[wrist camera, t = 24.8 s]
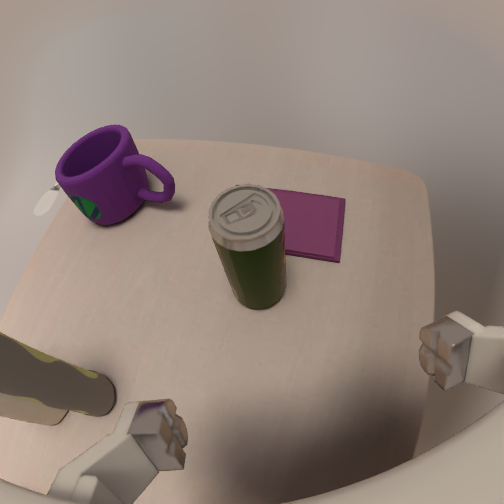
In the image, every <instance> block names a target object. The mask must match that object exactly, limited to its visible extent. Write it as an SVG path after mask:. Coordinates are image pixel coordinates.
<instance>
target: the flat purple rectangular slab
mask: <svg viewBox="0 0 504 504" xmlns="http://www.w3.org/2000/svg"><path fill="white" fill-rule="evenodd" d="M236 186H237V185H236ZM267 189H269V190H270V191H271V192H272V193H274V194H275V195H276V197H277V199H278V201H279V203H280V206H281V208H282V210H283V214H284V225H285V254H287V255H293V256H299V257H305V258H312V259H318V260H324V261H330V262H337V263H339V262H340V255H341V245H342V235H343V224H344V212H345V199H344V198H338V197H331V196H324V195H317V194H310V193H303V192H295V191H287V190H279V189H271V188H267Z"/></svg>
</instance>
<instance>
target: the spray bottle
mask: <svg viewBox="0 0 504 504" xmlns="http://www.w3.org/2000/svg"><path fill="white" fill-rule="evenodd" d="M0 393H3V394H7V395H12V396H16V397H19V398H22V399H26V400H29V401H33V402H36V403H40V404H44V405H46V406H48V407H52V408H56V409H61V410H70V411H74V412H80V413H84V414H86V415H90V416H103V415H105V414H106V413H108V412H109V411H110V409H111V408H112V406H113V403H114V389H113V386H112V384H111V382H110V381H109V380H108V378H107V377H105V376H104V375H102V374H100V373H98V372H95V371H91V370H86V369H83V368H80V367H77V366H75V365H72V364H69V363H67V362H64V361H62V360H59V359H57V358H54V357H52V356H50V355H47V354H45V353H43V352H40V351H38V350H36V349H34V348H31V347H29V346H27V345H25V344H23V343H21V342H19V341H17V340H15V339H13V338H11V337H9V336H7V335H5V334H3V333H1V332H0Z"/></svg>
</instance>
